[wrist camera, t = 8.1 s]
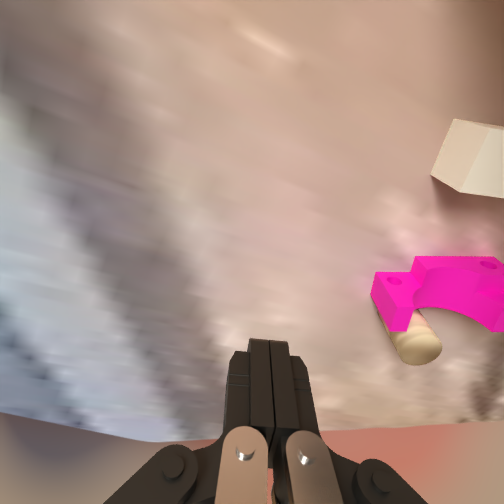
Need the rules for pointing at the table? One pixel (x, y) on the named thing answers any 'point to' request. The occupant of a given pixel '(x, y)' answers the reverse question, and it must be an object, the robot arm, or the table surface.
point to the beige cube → (472, 159)
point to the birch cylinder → (415, 341)
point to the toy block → (443, 290)
